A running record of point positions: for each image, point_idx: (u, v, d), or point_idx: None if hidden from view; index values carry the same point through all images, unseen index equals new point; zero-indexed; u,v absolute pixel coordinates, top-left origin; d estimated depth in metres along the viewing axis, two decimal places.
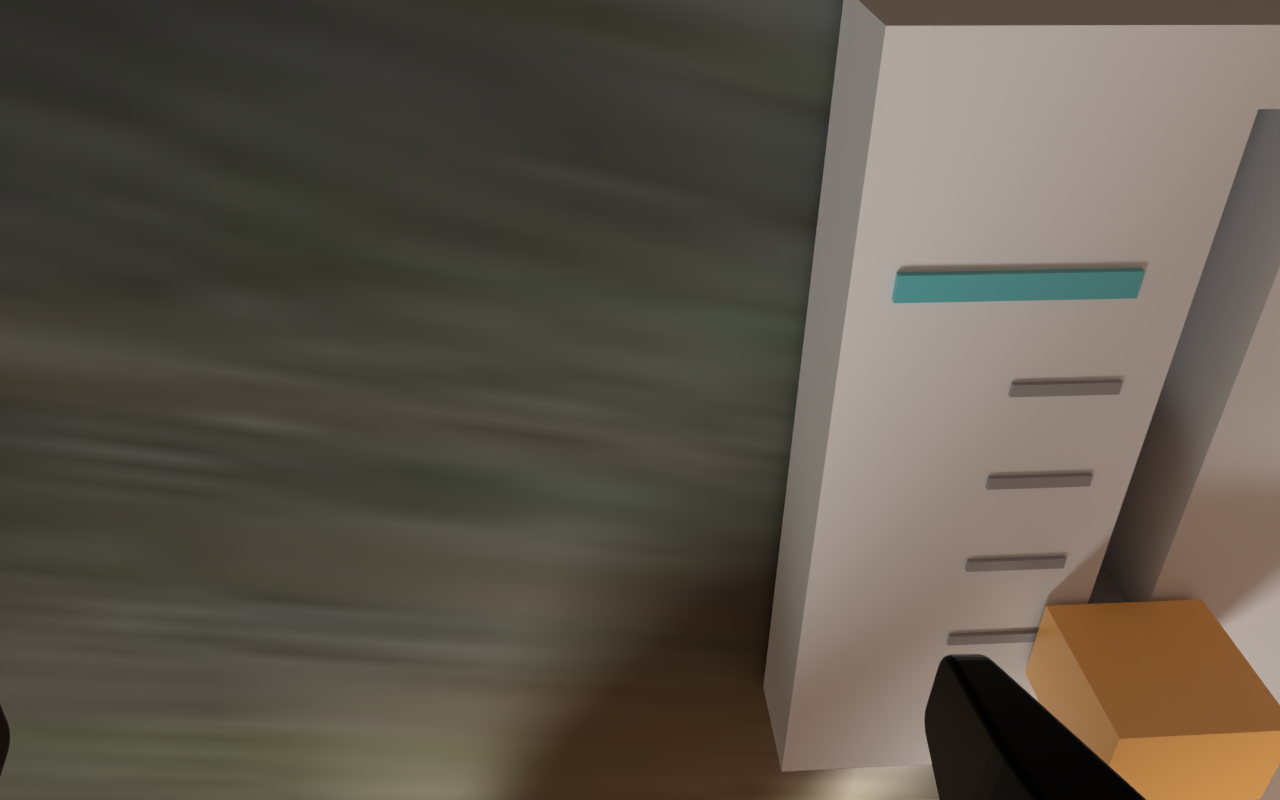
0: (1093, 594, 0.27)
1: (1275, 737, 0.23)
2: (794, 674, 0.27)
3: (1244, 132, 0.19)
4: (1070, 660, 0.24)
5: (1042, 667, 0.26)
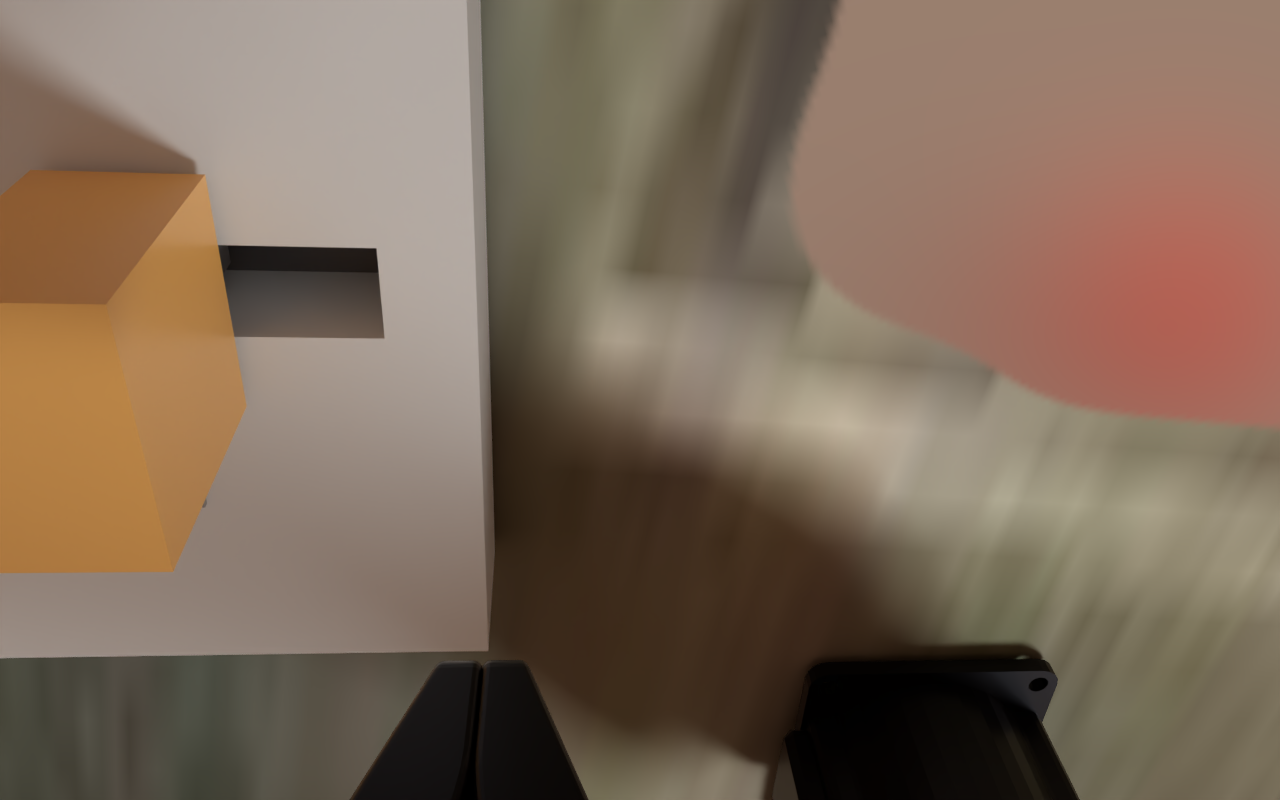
0: None
1: None
2: (292, 651, 0.21)
3: None
4: None
5: None
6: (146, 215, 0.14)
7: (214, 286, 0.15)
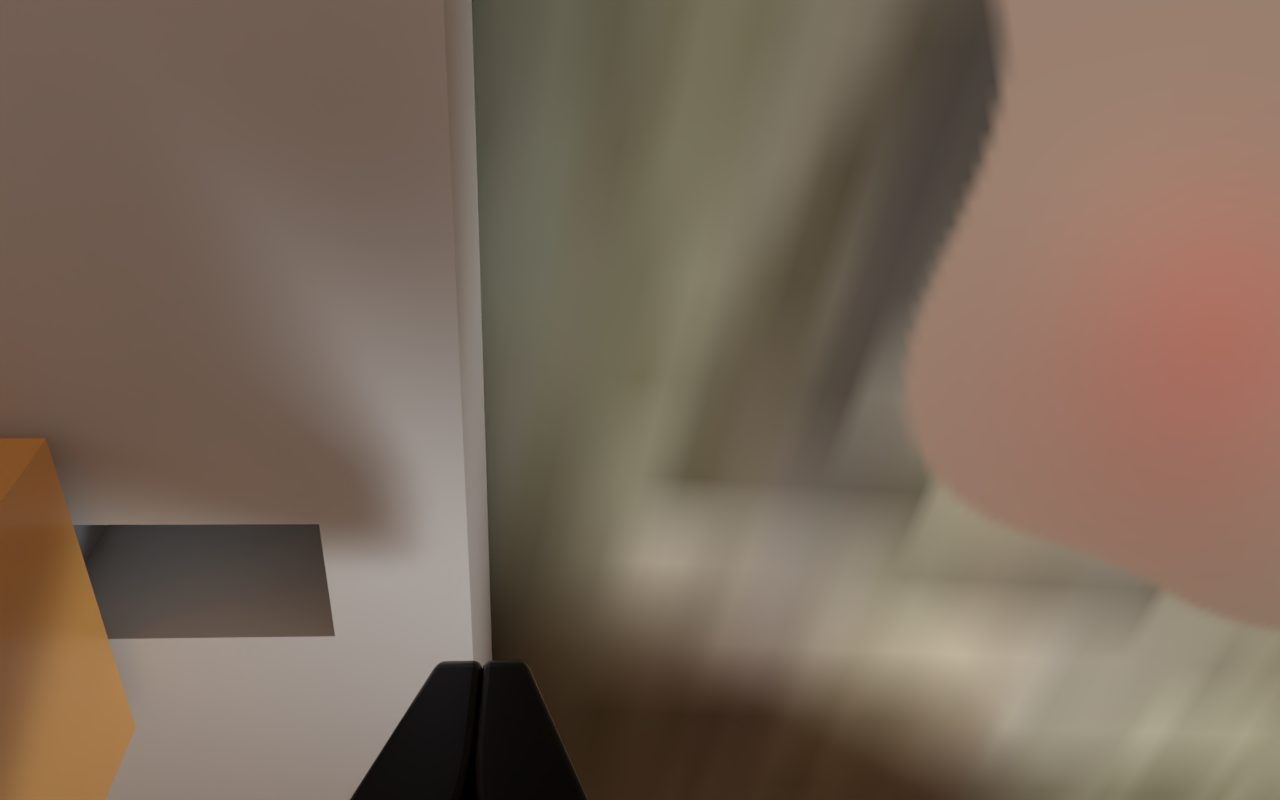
0: None
1: None
2: None
3: None
4: None
5: None
6: None
7: (67, 598, 0.10)
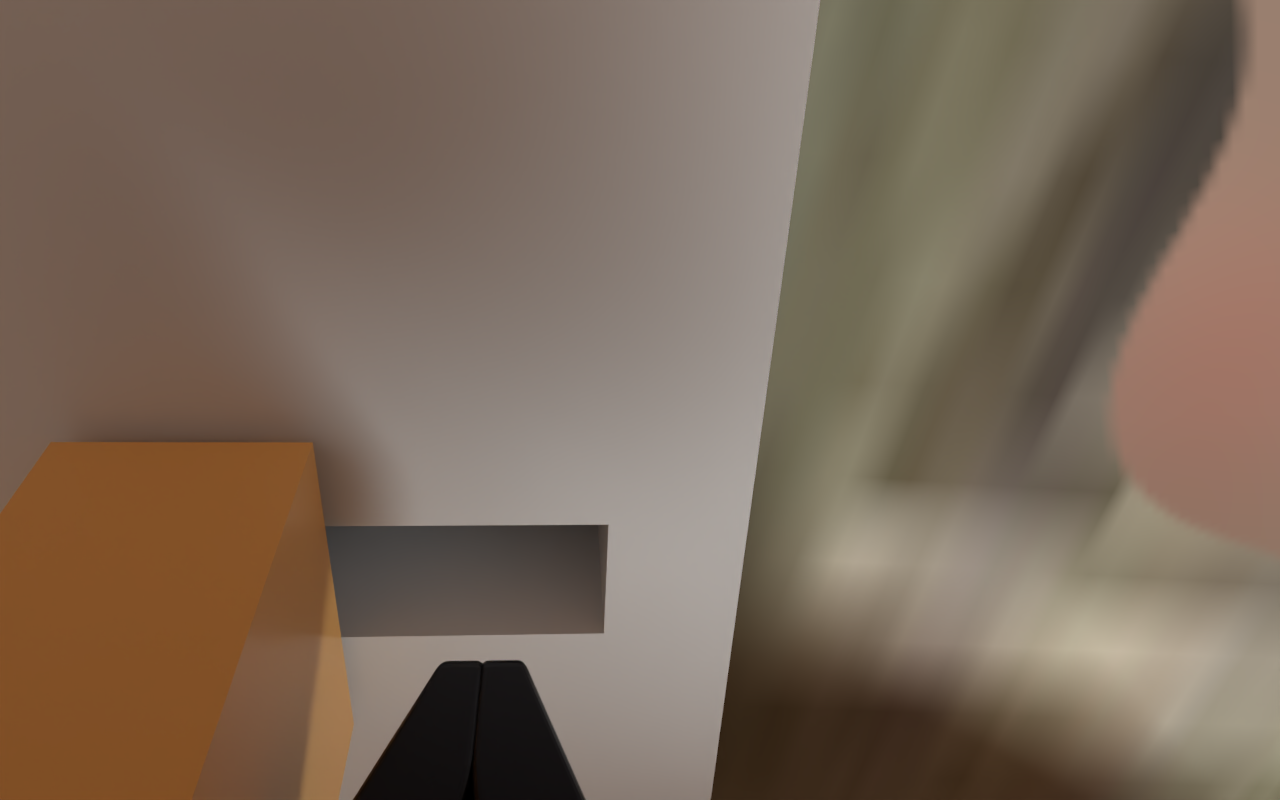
0: None
1: None
2: None
3: None
4: None
5: None
6: (234, 546, 0.09)
7: (322, 597, 0.10)
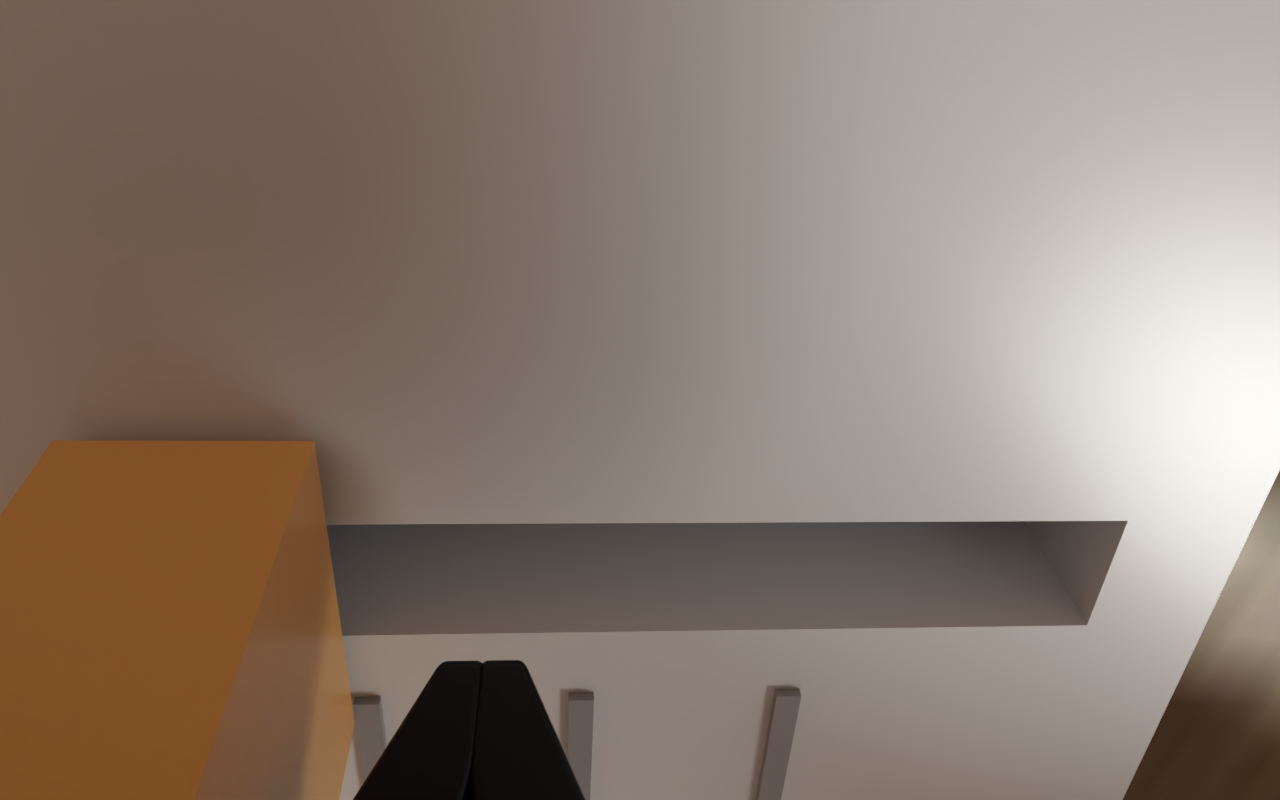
0: None
1: None
2: None
3: None
4: None
5: None
6: (237, 543, 0.09)
7: (323, 595, 0.10)
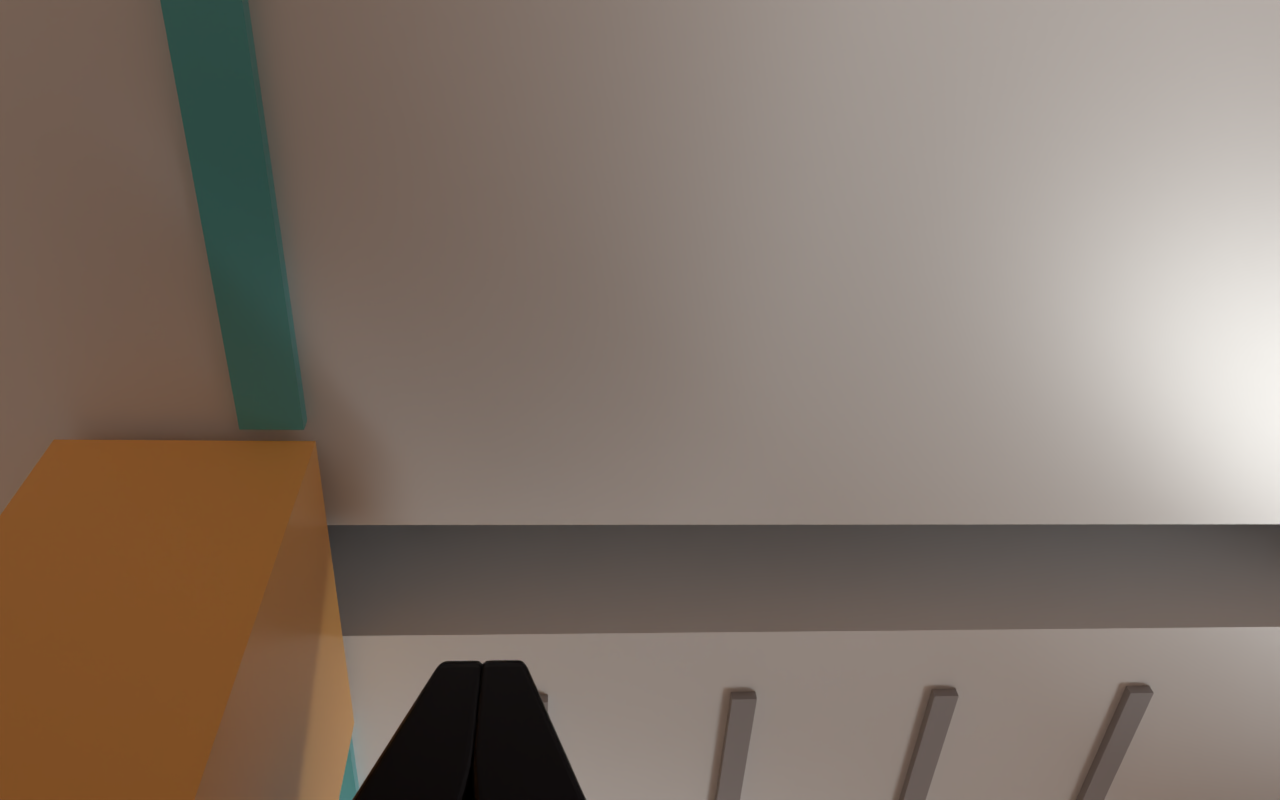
0: None
1: None
2: None
3: None
4: None
5: None
6: (238, 545, 0.09)
7: (324, 595, 0.10)
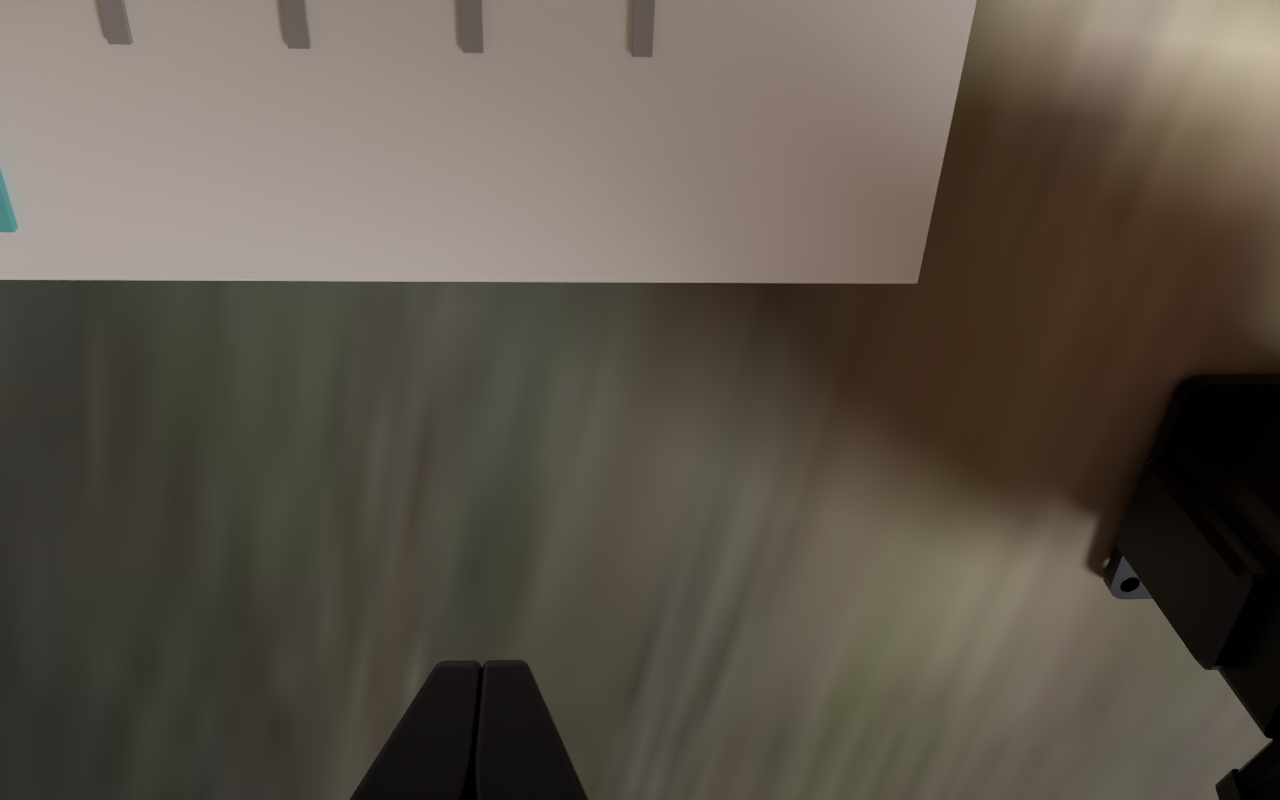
0: None
1: None
2: (698, 281, 0.18)
3: None
4: None
5: None
6: None
7: None
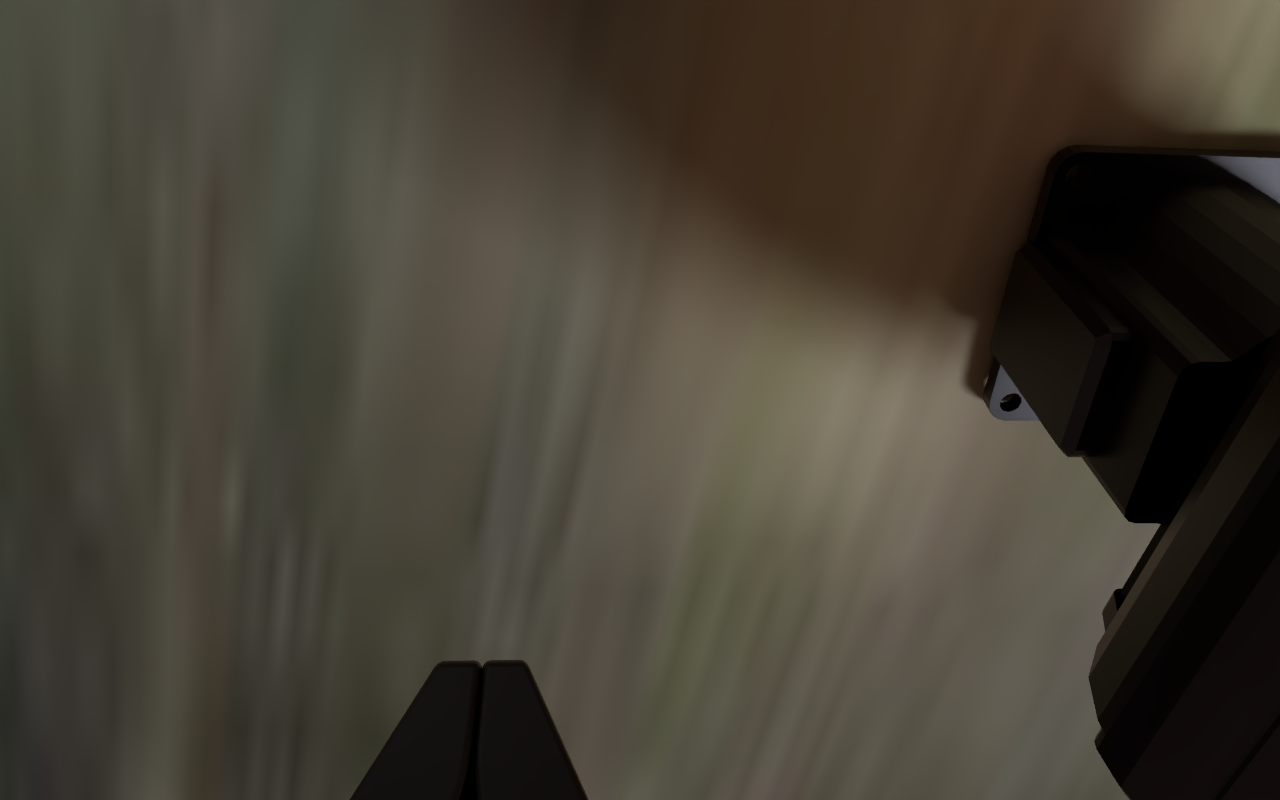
0: None
1: None
2: None
3: None
4: None
5: None
6: None
7: None
